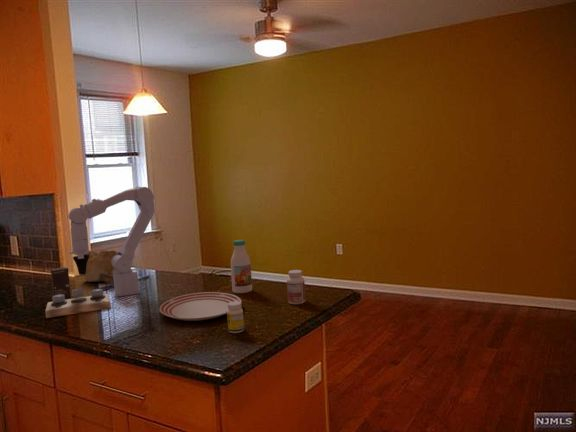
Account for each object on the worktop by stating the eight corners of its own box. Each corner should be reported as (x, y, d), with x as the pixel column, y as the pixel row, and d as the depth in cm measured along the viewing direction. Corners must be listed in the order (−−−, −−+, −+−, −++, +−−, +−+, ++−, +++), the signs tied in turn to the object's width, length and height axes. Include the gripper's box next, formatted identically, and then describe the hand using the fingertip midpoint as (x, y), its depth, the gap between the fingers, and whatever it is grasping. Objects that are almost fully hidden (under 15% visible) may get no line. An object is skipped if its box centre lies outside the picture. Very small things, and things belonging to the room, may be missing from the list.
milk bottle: (228, 293, 182) (225, 242, 180) (238, 287, 189) (235, 238, 187) (246, 294, 179) (243, 242, 177) (255, 288, 186) (252, 238, 184)
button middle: (84, 293, 175) (83, 287, 175) (84, 295, 172) (83, 290, 171) (72, 294, 174) (71, 289, 174) (72, 297, 170) (71, 292, 170)
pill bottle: (296, 298, 170) (295, 268, 169) (309, 301, 166) (307, 270, 164) (284, 302, 166) (282, 271, 165) (296, 306, 161) (295, 274, 160)
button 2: (103, 293, 178) (102, 288, 178) (103, 296, 174) (102, 290, 174) (91, 295, 176) (91, 290, 176) (91, 297, 173) (91, 292, 173)
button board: (109, 299, 182) (108, 292, 182) (110, 307, 171) (110, 299, 171) (48, 308, 174) (47, 300, 173) (46, 318, 163) (45, 309, 162)
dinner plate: (258, 309, 161) (257, 299, 160) (190, 332, 141) (189, 322, 141) (210, 296, 180) (209, 287, 180) (144, 315, 161) (143, 305, 160)
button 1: (65, 299, 173) (64, 293, 173) (64, 301, 169) (64, 296, 169) (53, 300, 171) (52, 295, 171) (52, 303, 168) (51, 298, 168)
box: (54, 300, 185) (51, 270, 183) (53, 298, 188) (50, 268, 187) (71, 297, 188) (68, 268, 187) (69, 295, 192) (66, 266, 190)
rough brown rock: (141, 281, 213) (140, 248, 212) (106, 287, 200) (105, 251, 199) (113, 277, 227) (112, 246, 227) (79, 282, 214) (78, 249, 214)
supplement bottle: (228, 328, 143) (226, 301, 142) (244, 327, 143) (242, 300, 142) (228, 334, 138) (226, 306, 137) (244, 332, 138) (242, 305, 137)
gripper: (68, 237, 185) (71, 271, 186) (67, 242, 171) (70, 279, 173) (88, 236, 187) (90, 269, 189) (88, 241, 174) (91, 277, 176)
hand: (82, 274), depth 181 cm, fingers closed
